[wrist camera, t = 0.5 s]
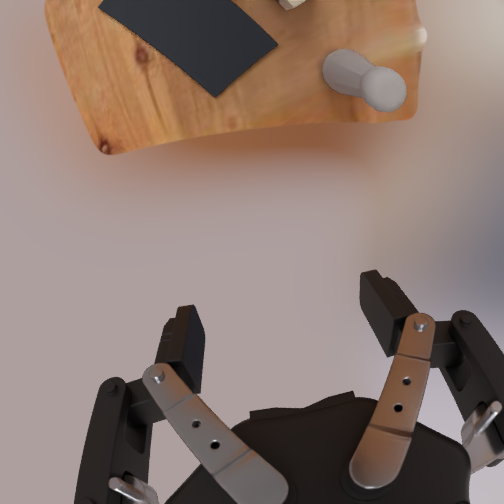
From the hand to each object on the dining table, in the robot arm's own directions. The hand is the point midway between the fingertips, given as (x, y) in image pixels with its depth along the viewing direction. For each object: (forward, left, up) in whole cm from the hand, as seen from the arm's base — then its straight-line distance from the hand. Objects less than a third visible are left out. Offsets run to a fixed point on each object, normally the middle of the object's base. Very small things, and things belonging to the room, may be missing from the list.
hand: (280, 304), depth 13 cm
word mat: (-15, +4, -27) cm, 31 cm away
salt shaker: (+2, +13, -28) cm, 31 cm away
